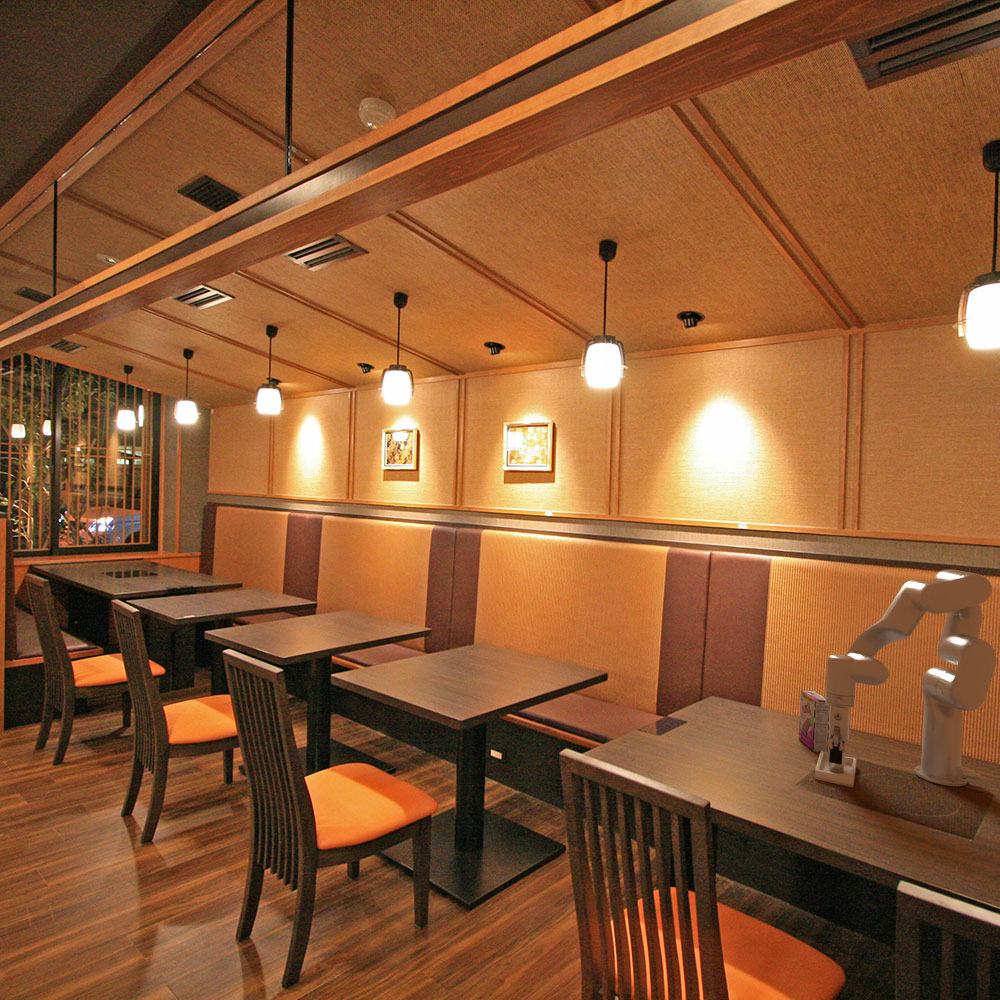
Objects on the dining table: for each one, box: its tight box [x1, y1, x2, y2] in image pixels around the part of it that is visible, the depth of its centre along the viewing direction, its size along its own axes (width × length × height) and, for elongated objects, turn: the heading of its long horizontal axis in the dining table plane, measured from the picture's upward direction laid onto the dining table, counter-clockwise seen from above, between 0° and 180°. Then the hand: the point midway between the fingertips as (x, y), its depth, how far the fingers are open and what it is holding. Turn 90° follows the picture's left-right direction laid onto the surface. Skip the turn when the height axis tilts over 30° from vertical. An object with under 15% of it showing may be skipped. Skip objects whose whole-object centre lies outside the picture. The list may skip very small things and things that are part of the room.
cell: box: [828, 740, 846, 774], centre depth 195 cm, size 4×4×8 cm
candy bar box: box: [798, 689, 829, 753], centre depth 216 cm, size 11×5×16 cm, turn 179°
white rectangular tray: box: [814, 751, 857, 788], centre depth 195 cm, size 10×18×2 cm, turn 150°
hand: (836, 757), depth 195 cm, fingers open, 9 cm apart
